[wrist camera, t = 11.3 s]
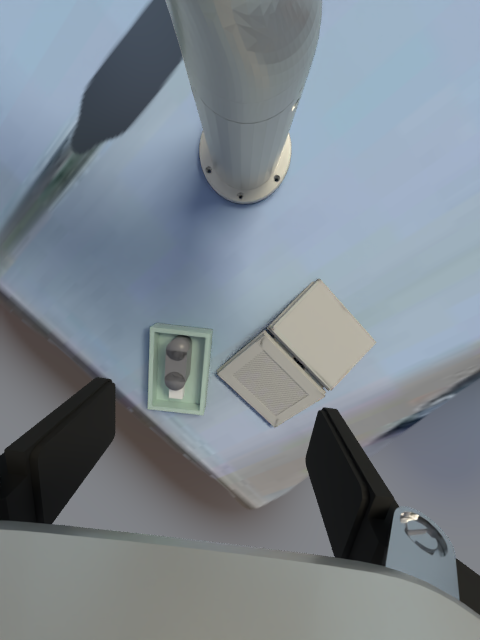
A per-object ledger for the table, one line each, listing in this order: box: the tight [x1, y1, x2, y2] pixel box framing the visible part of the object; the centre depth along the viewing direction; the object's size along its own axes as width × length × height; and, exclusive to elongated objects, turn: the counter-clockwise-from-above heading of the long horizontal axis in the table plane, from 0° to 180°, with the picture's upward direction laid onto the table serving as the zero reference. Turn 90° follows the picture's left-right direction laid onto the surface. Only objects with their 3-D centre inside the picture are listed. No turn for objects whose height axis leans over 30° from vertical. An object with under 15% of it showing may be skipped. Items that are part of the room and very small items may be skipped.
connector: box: [165, 335, 192, 399], centre depth 36 cm, size 10×3×4 cm, turn 173°
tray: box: [148, 323, 213, 415], centre depth 37 cm, size 14×9×3 cm, turn 173°
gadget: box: [217, 279, 376, 427], centre depth 37 cm, size 23×15×4 cm, turn 135°
